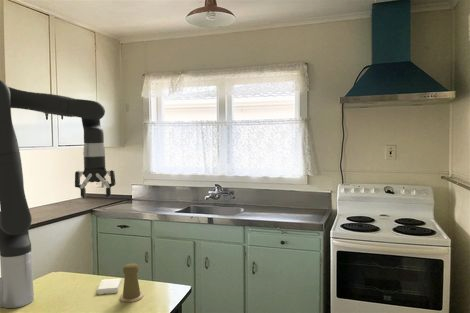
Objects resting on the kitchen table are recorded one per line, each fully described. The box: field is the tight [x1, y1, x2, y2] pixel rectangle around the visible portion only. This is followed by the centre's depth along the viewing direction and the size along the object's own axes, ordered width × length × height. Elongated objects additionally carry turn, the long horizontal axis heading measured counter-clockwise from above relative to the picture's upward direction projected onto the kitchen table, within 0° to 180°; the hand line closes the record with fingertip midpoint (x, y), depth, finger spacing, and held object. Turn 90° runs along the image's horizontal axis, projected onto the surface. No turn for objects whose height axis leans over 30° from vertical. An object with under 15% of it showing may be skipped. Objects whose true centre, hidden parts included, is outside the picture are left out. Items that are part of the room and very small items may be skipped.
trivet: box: [119, 290, 145, 303], centre depth 129 cm, size 8×8×1 cm
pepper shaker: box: [122, 262, 141, 299], centre depth 129 cm, size 6×6×11 cm
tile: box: [97, 277, 122, 295], centre depth 137 cm, size 7×2×9 cm
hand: (95, 197), depth 140 cm, fingers open, 8 cm apart
